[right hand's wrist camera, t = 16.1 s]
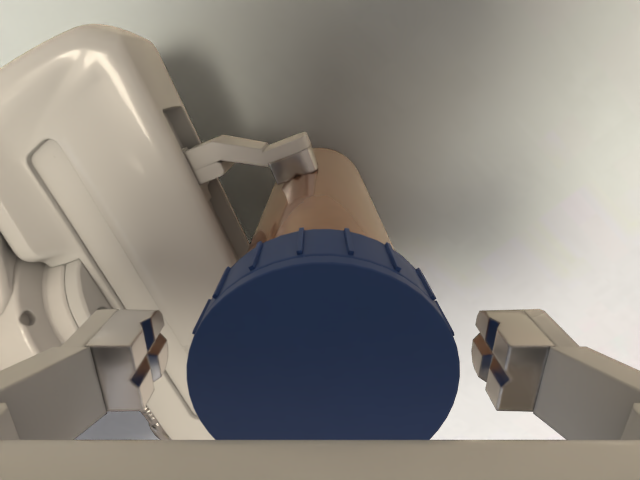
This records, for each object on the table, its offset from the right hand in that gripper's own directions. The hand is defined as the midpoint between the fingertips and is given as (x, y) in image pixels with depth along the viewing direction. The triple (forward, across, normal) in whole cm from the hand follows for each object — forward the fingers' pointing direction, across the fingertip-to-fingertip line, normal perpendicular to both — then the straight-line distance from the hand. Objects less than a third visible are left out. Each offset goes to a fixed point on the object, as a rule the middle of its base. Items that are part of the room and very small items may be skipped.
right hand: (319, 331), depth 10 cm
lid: (-2, 0, 0) cm, 2 cm away
